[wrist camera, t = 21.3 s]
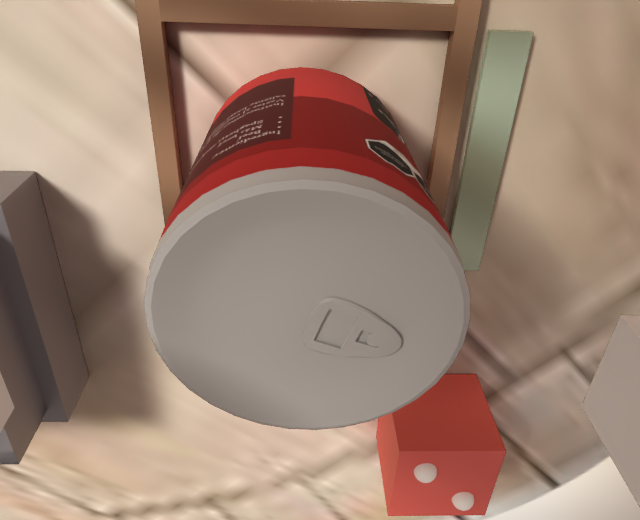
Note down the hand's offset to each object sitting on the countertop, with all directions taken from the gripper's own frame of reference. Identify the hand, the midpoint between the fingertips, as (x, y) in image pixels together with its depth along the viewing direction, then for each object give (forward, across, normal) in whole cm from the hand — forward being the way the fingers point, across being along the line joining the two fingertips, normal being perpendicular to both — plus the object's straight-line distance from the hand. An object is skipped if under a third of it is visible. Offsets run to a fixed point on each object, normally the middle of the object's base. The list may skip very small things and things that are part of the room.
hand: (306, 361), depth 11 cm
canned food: (+13, 0, 0) cm, 13 cm away
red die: (+12, -7, +15) cm, 21 cm away
